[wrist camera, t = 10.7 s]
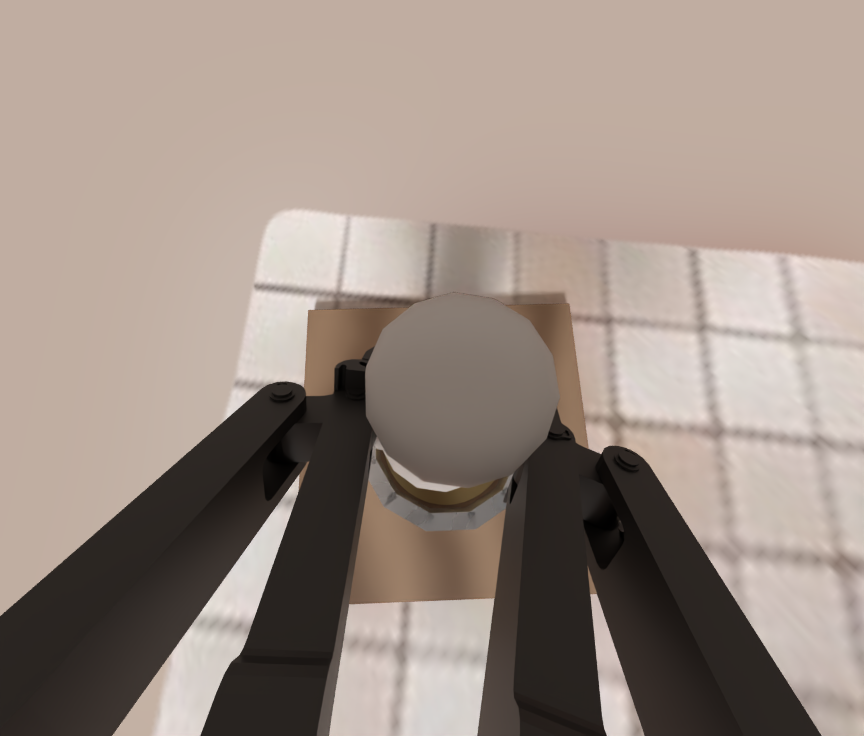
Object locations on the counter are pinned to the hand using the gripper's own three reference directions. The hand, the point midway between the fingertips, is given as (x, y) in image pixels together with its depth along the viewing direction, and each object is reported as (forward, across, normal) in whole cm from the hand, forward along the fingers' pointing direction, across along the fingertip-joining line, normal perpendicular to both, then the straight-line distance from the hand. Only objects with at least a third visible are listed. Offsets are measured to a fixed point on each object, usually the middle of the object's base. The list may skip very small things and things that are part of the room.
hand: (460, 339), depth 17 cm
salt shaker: (0, 0, -6) cm, 6 cm away
